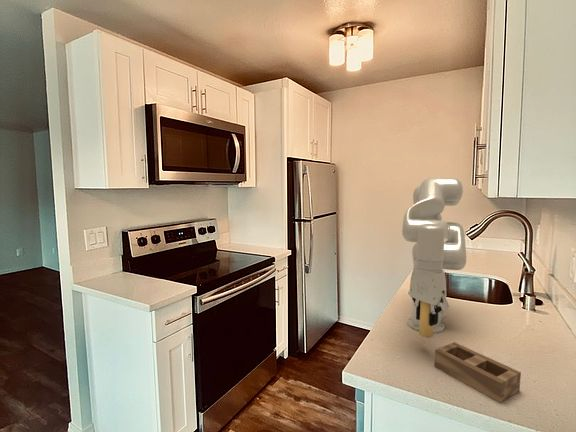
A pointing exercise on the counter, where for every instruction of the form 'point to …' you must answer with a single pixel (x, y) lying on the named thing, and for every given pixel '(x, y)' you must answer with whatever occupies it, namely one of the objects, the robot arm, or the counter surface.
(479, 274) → the counter surface
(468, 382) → the socket block
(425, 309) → the peg
